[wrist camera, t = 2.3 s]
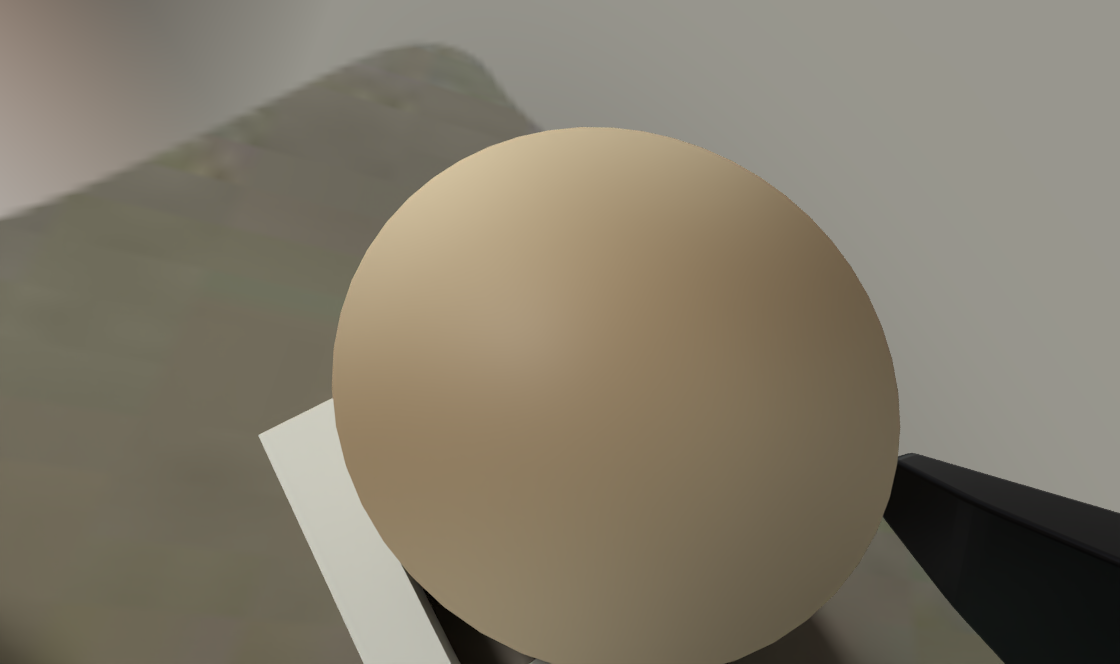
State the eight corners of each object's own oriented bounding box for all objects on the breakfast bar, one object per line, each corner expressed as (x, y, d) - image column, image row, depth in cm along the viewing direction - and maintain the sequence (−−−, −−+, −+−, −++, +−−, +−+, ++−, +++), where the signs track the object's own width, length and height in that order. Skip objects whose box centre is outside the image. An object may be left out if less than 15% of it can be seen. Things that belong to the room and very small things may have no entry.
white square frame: (748, 579, 18) (800, 576, 15) (453, 800, 15) (448, 847, 12) (574, 314, 20) (590, 269, 17) (292, 461, 17) (258, 435, 15)
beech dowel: (646, 553, 18) (1009, 456, 6) (487, 661, 16) (529, 843, 4) (552, 401, 19) (686, 66, 7) (398, 488, 17) (235, 248, 5)
